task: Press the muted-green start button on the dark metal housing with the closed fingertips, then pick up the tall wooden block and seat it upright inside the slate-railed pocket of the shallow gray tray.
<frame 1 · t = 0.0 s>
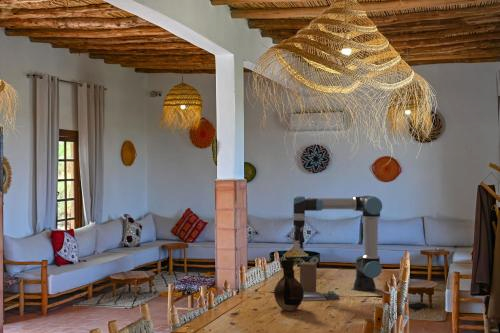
hand: (298, 251, 456), 28 cm above the table, fingers open, 13 cm apart
wooden block: (308, 293, 461), on the table
ceramic vessel: (288, 310, 408), on the table
start button: (331, 293, 444), point 3 cm above the table, slide at 0.0 cm
button housing: (331, 298, 445), on the table
shallow gray tray: (310, 298, 444), on the table
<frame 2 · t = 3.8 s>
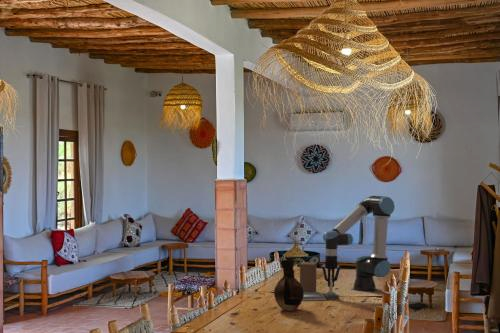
hand: (330, 291, 444), 4 cm above the table, fingers closed
start button: (331, 294, 444), point 3 cm above the table, slide at -0.5 cm, touching gripper
everything else where it was.
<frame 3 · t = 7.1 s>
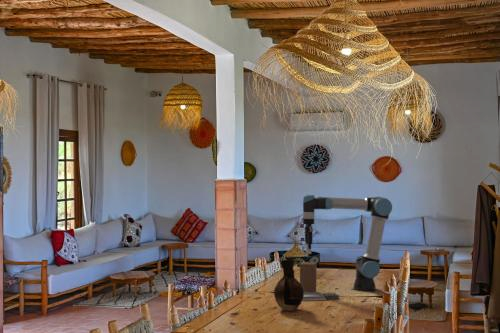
hand: (308, 253, 461), 27 cm above the table, fingers open, 3 cm apart
start button: (331, 294, 444), point 2 cm above the table, slide at -1.0 cm
everything else where it was.
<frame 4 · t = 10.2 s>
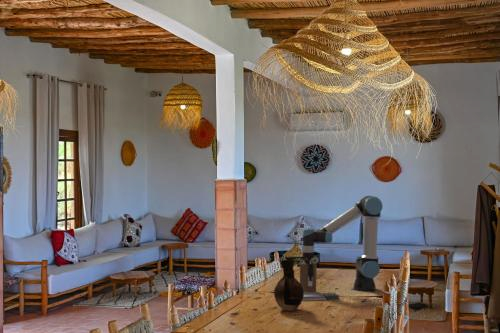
hand: (308, 284, 461), 6 cm above the table, fingers closed on wooden block, 12 cm apart
wooden block: (308, 293, 461), on the table, touching gripper
everything else where it was.
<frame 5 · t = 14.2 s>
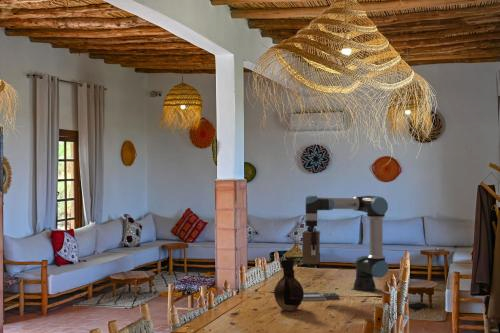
hand: (311, 253, 443), 29 cm above the table, fingers closed on wooden block, 12 cm apart
wooden block: (311, 263, 444), point 23 cm above the table, touching gripper
everything else where it was.
when the fingers open (9 cm above the table, at t = 18.3 s): wooden block drops 2 cm, resting on shallow gray tray.
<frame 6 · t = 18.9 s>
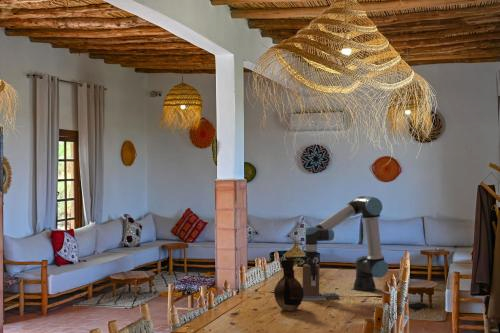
hand: (311, 283, 444), 9 cm above the table, fingers open, 13 cm apart
wooden block: (310, 296, 444), point 1 cm above the table, touching shallow gray tray
everything else where it was.
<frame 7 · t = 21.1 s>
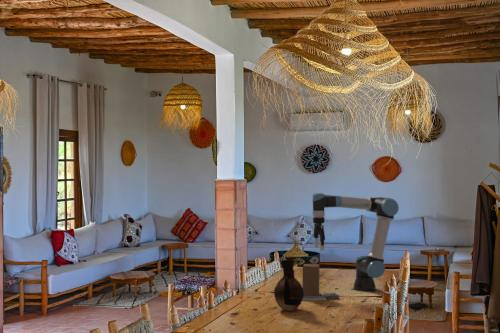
hand: (319, 249, 454), 30 cm above the table, fingers open, 13 cm apart
nothing on the table moved.
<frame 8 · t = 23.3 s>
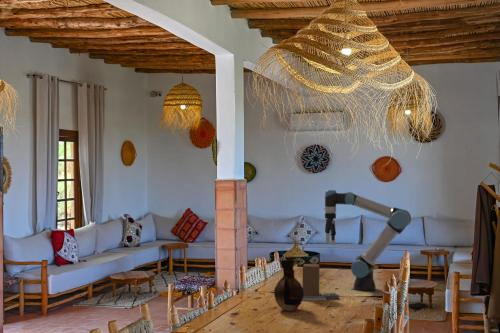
hand: (330, 243, 471), 32 cm above the table, fingers open, 13 cm apart
nothing on the table moved.
at the end: wooden block 0.0 cm off-centre on the shallow gray tray, point 1.0 cm above the shallow gray tray's base; wooden block tilted 0°; wooden block touching shallow gray tray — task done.
